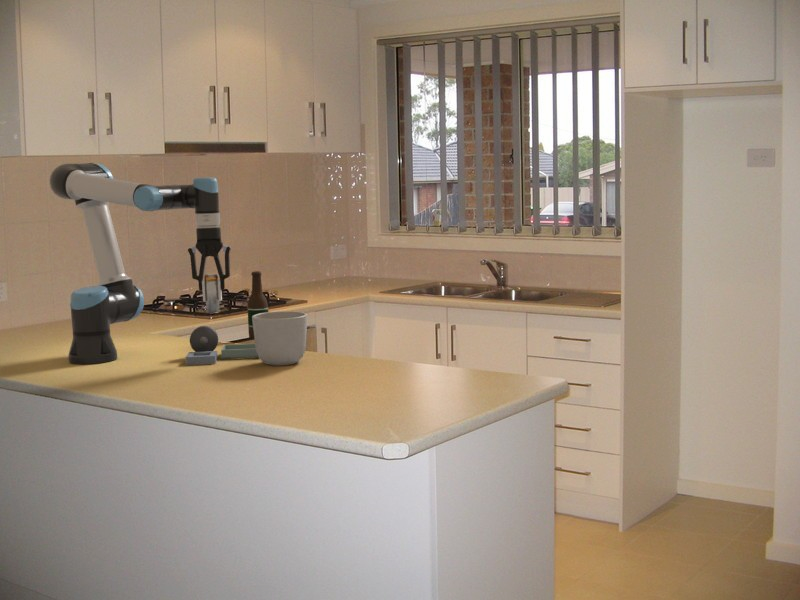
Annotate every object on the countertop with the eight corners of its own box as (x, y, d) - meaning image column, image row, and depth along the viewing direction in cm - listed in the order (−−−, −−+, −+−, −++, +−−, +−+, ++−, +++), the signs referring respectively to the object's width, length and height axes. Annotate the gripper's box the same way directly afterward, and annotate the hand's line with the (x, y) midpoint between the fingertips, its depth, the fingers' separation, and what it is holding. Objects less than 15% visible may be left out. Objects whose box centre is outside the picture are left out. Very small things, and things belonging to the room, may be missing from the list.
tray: (221, 359, 324) (221, 350, 324) (224, 353, 334) (223, 344, 334) (266, 357, 325) (265, 348, 325) (267, 352, 335) (267, 343, 335)
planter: (319, 362, 316) (318, 313, 314) (278, 370, 303) (276, 320, 301) (284, 356, 327) (282, 309, 325) (242, 364, 315) (240, 316, 313)
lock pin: (205, 313, 318) (203, 275, 317) (207, 311, 323) (205, 274, 321) (219, 312, 319) (216, 274, 317) (220, 311, 323) (218, 273, 321)
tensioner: (186, 365, 316) (184, 333, 314) (191, 355, 332) (190, 325, 331) (215, 363, 317) (213, 332, 315) (219, 354, 333) (218, 324, 332)
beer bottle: (265, 339, 360) (263, 272, 357) (245, 339, 362) (242, 272, 358) (272, 336, 368) (270, 270, 364) (252, 335, 369) (249, 270, 366)
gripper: (178, 228, 313) (183, 303, 316) (234, 226, 314) (238, 301, 317) (182, 227, 321) (187, 300, 324) (237, 225, 322) (241, 298, 324)
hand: (212, 300), depth 320 cm, fingers closed on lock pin, 4 cm apart
